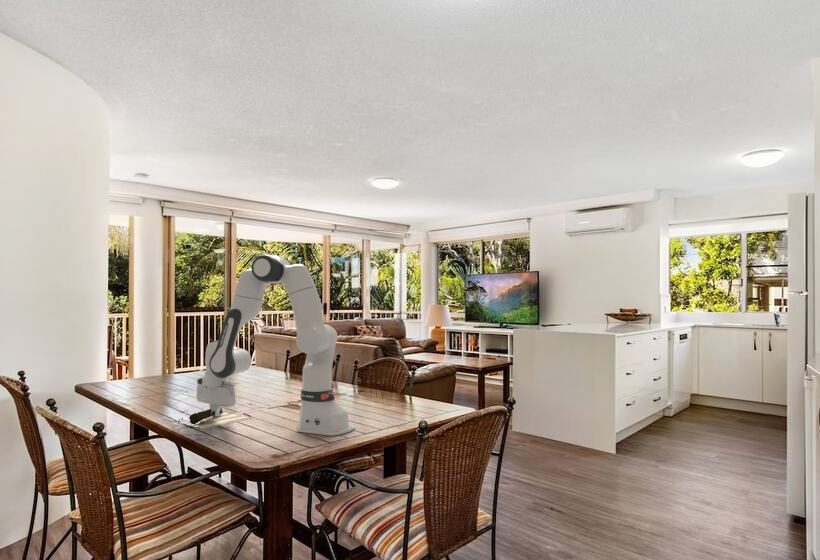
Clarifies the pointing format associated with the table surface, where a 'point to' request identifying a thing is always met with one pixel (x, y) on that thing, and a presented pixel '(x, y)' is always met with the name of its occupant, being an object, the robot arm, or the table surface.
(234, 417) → the sheet
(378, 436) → the table surface
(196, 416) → the hand tool
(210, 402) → the robot arm
